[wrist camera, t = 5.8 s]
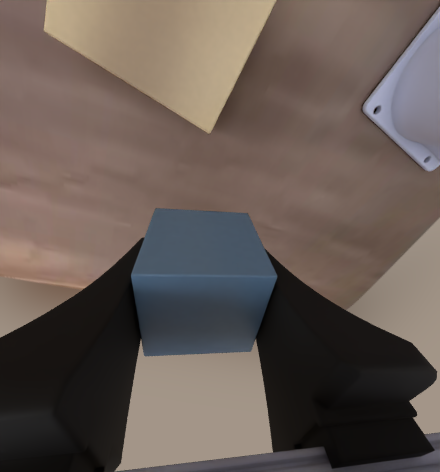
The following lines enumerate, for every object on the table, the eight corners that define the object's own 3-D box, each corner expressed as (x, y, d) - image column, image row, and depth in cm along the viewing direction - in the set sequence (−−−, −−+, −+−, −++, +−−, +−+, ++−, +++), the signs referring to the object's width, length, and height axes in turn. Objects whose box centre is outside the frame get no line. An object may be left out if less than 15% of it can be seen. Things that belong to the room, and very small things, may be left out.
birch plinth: (264, 6, 12) (292, -31, 8) (206, 127, 15) (209, 134, 11) (120, -134, 9) (76, -271, 6) (85, 50, 12) (42, 31, 9)
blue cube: (248, 212, 10) (278, 276, 7) (234, 278, 13) (251, 352, 9) (155, 207, 10) (129, 274, 6) (159, 277, 12) (143, 357, 8)
